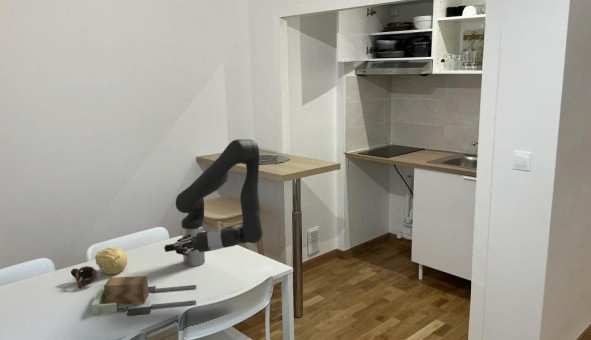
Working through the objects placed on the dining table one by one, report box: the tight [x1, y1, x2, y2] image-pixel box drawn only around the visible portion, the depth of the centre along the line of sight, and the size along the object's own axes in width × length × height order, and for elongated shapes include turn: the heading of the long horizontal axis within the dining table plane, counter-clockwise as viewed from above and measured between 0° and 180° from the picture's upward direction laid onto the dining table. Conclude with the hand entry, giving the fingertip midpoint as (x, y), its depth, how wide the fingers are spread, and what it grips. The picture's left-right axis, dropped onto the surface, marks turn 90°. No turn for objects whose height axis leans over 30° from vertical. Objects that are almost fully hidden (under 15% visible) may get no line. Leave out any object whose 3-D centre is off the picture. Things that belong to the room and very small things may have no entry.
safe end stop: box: [91, 284, 118, 316], centre depth 180 cm, size 8×16×4 cm, turn 11°
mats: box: [126, 285, 157, 317], centre depth 182 cm, size 8×22×1 cm, turn 11°
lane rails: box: [116, 284, 197, 313], centre depth 183 cm, size 28×14×1 cm, turn 101°
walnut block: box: [103, 275, 150, 306], centre depth 182 cm, size 14×7×8 cm, turn 94°
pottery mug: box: [70, 265, 99, 289], centre depth 197 cm, size 12×10×8 cm
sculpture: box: [94, 247, 128, 276], centre depth 207 cm, size 12×12×11 cm
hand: (165, 248), depth 182 cm, fingers closed
